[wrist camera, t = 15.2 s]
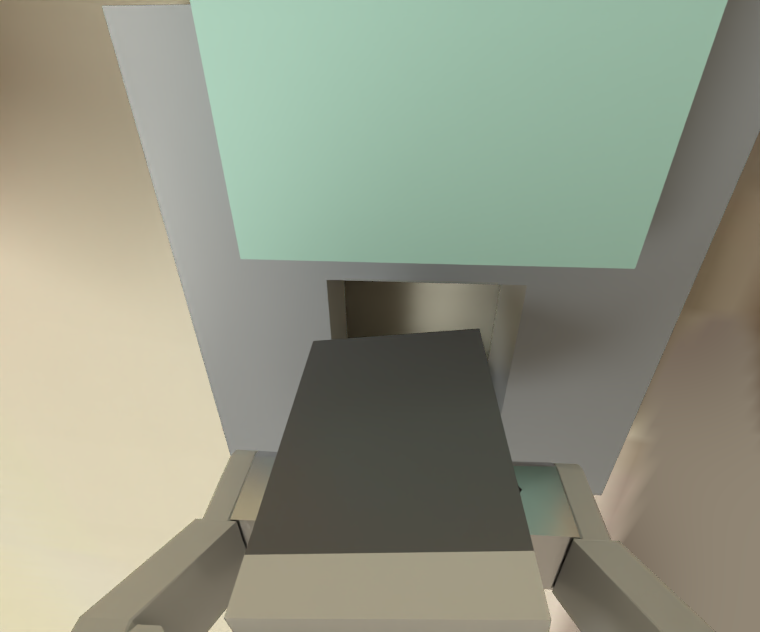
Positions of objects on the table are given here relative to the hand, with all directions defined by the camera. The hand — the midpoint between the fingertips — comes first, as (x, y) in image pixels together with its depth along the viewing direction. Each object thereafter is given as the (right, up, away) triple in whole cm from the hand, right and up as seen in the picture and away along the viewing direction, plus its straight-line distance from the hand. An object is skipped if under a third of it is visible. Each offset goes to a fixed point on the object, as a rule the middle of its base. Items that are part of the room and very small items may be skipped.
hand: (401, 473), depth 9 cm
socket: (+1, +5, +6) cm, 8 cm away
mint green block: (+1, +8, 0) cm, 8 cm away
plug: (0, +1, +2) cm, 2 cm away
